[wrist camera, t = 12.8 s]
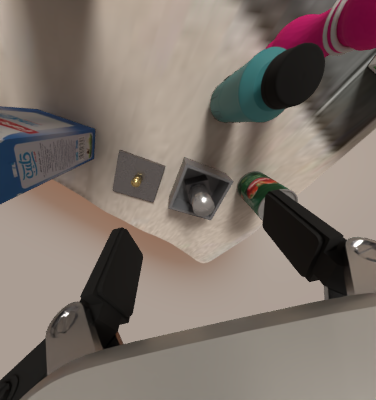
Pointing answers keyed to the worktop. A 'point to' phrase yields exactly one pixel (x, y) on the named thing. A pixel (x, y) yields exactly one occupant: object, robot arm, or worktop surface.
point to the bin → (190, 169)
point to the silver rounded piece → (200, 195)
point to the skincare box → (373, 65)
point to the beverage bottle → (269, 84)
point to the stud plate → (137, 168)
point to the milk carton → (39, 148)
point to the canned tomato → (259, 190)
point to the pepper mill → (333, 28)
